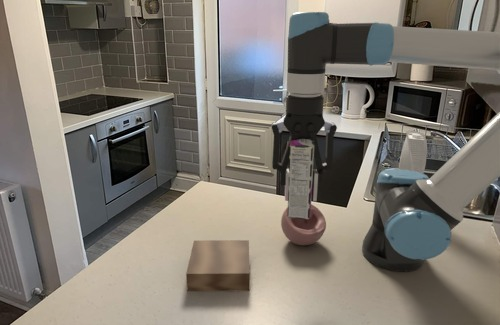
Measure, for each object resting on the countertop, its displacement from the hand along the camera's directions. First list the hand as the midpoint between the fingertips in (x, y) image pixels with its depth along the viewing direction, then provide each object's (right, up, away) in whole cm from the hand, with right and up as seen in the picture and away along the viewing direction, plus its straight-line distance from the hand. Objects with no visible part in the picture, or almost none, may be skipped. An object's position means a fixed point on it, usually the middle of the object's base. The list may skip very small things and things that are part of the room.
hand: (300, 198), depth 85 cm
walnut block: (-18, -19, +8) cm, 28 cm away
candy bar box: (0, -2, +1) cm, 3 cm away
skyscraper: (+39, -9, +38) cm, 55 cm away
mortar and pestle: (+3, -14, +21) cm, 26 cm away
